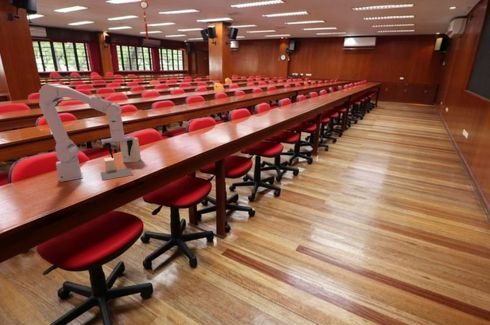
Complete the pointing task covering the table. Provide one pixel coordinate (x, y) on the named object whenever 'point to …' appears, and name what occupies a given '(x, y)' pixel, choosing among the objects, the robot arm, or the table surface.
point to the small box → (134, 152)
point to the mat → (116, 173)
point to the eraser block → (109, 164)
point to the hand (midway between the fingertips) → (121, 156)
